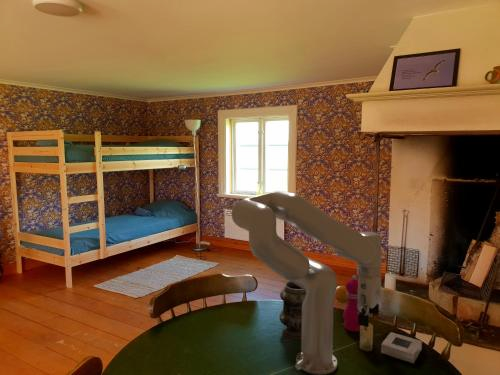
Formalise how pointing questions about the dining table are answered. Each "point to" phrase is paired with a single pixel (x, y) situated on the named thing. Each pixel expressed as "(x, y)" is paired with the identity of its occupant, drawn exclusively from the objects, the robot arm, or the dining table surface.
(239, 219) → the robot arm
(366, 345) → the cylinder
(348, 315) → the pepper mill
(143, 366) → the dining table surface
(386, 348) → the jig
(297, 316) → the apothecary jar
